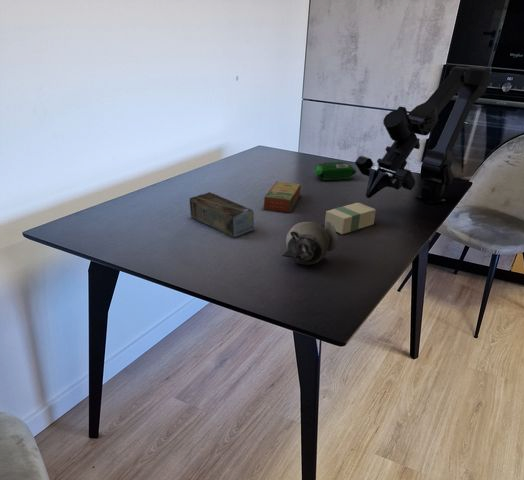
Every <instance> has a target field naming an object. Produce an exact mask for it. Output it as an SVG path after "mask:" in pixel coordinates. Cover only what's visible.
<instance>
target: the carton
mask: <svg viewBox="0 0 524 480" xmlns="http://www.w3.org/2000/svg"><path fill="white" fill-rule="evenodd" d="M301 186H302V185H301V184H300V183H297V182H296V183H295V182H288V181H287V182H286V181H276V182H274V184H273V186H271V188H269V191H268V192H266V194H265V195H264V199H263V210H265V211H272V212H280V213H291V212H292V210H293V208H294V207H295V205H296V203H297V201H298V199H299V198H300V197H301Z"/></svg>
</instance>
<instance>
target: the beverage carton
mask: <svg viewBox="0 0 524 480" xmlns="http://www.w3.org/2000/svg"><path fill="white" fill-rule="evenodd" d="M189 210H190V217H191V218H192V219H193V220H196V221H197V222H200V223H202V224H204V225H207V226H209V227H211V228H213V229H215V230H217V231H219V232H221V233H224V234H226V235H228V236H230V237H232V238H237V237H239V236H242V235H244V234H247V233H250V232H252V231H254V229H255V227H254V225H255V219H254V218H255V217H254V215H255V212H254V210H253V209H251V208H249V207H245V206H244V205H241V204H240V203H237V202H234V201H232V200H230V199H227V198H225V197H224V196H223V197H222V196H220V195H218V194H216V193H213V192H210V191H209V192H206V193H203V194H199V195H196V196H192V197H190V198H189Z"/></svg>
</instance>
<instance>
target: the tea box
mask: <svg viewBox="0 0 524 480" xmlns="http://www.w3.org/2000/svg"><path fill="white" fill-rule="evenodd" d="M376 213H377V209H376V208H374V207H371V206H368V205H366V204H363V203H360V202H354V203H351V204H346V205H343V206H339V207H335V208H332V209H328V210H326V211H325V218H324V225H325V224H326V222H330V223H331V225H334V227H335V229H336V233H337V234H338V233H339V234H341V235H344V234H345V235H346V234H348V233H352V232H355V231H358V230H360V229H363V228H367V227H370V226H373V225H374V223H375V217H376Z"/></svg>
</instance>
